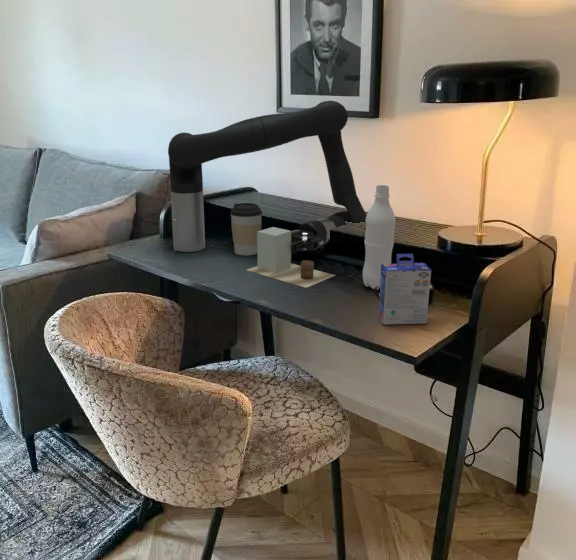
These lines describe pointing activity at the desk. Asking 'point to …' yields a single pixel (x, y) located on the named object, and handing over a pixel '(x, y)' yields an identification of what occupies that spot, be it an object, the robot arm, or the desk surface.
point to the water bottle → (378, 237)
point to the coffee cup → (245, 227)
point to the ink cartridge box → (404, 292)
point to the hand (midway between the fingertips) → (279, 245)
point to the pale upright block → (274, 249)
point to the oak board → (297, 274)
